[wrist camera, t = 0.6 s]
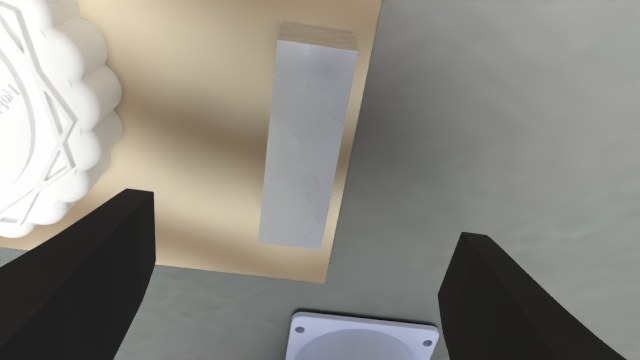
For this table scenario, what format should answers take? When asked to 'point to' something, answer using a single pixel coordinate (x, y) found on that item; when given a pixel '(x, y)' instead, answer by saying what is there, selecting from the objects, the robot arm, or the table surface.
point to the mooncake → (51, 111)
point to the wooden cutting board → (233, 127)
